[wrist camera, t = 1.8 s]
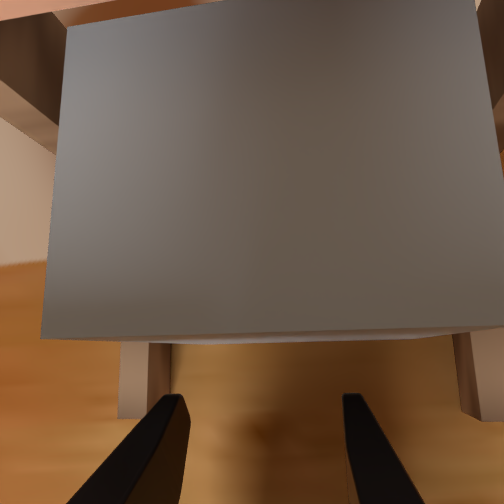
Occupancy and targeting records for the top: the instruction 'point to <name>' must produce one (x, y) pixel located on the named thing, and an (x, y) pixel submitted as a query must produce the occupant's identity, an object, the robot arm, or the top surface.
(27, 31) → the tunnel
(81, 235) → the tall block
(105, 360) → the top surface
